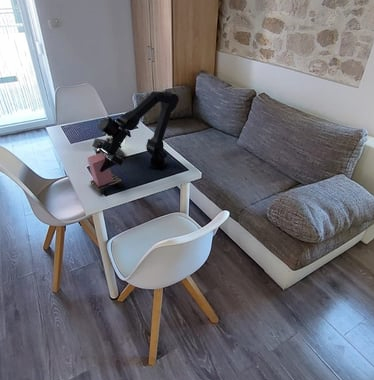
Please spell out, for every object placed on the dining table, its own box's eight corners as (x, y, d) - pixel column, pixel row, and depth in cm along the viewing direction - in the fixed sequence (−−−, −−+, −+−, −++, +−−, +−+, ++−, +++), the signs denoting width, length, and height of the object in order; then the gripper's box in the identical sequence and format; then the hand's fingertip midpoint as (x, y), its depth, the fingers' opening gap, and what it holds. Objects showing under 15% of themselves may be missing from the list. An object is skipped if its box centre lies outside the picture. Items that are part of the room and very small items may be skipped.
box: (106, 174, 149) (101, 152, 141) (112, 180, 145) (107, 157, 137) (93, 180, 146) (87, 157, 138) (99, 186, 142) (92, 163, 134)
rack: (112, 177, 155) (112, 172, 153) (123, 186, 148) (122, 180, 147) (90, 186, 148) (89, 180, 146) (100, 195, 142) (99, 190, 140)
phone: (110, 157, 169) (102, 146, 180) (111, 159, 170) (102, 148, 180) (124, 154, 173) (115, 143, 183) (124, 156, 173) (115, 145, 184)
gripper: (93, 125, 140) (74, 154, 140) (113, 138, 128) (93, 170, 128) (110, 136, 149) (92, 163, 149) (131, 150, 137) (112, 179, 137)
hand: (97, 168), depth 140 cm, fingers closed on box, 6 cm apart
